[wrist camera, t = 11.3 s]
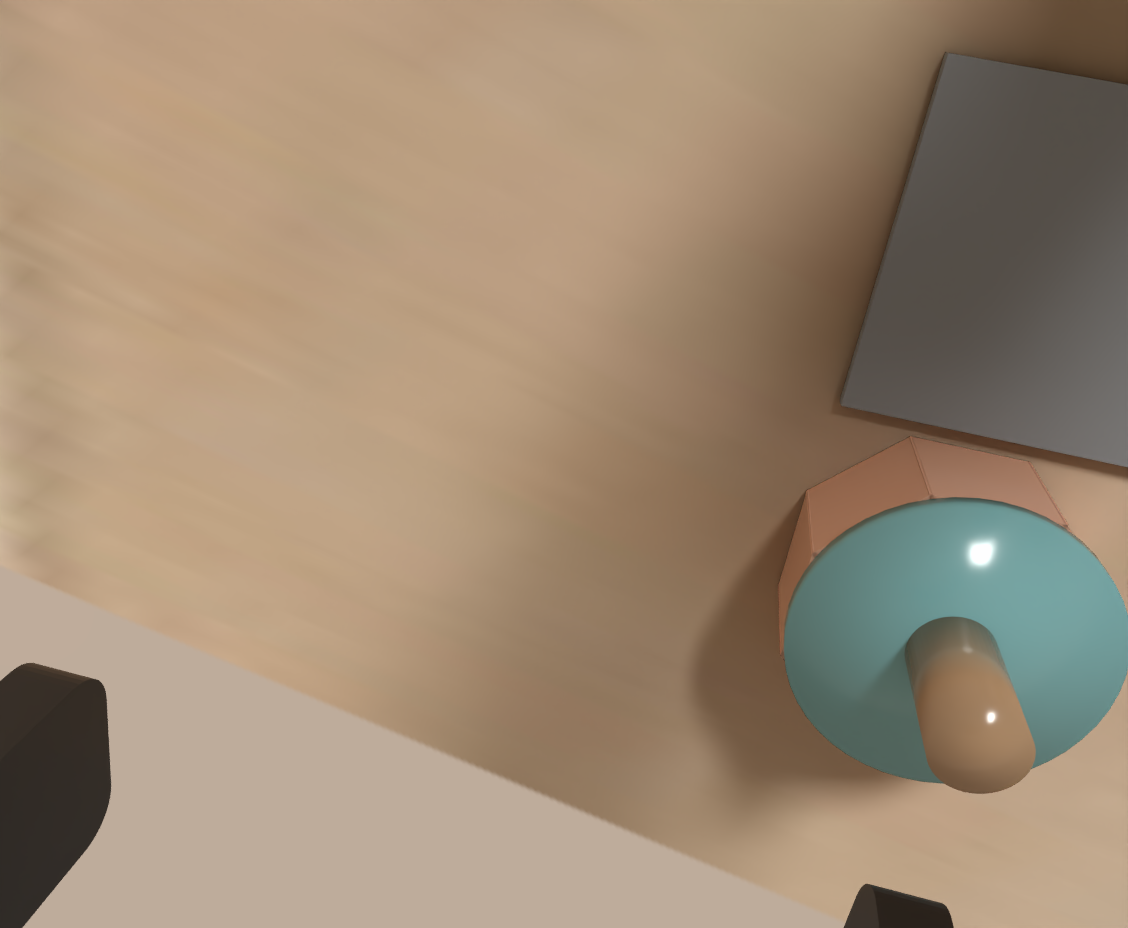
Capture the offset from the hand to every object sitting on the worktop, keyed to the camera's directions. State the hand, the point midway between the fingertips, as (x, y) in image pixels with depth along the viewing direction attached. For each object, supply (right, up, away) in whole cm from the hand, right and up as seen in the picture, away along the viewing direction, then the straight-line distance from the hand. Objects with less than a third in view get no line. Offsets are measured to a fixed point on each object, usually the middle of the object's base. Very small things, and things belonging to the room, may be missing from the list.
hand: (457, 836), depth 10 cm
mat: (+18, +10, +23) cm, 31 cm away
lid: (+14, -2, +24) cm, 28 cm away
